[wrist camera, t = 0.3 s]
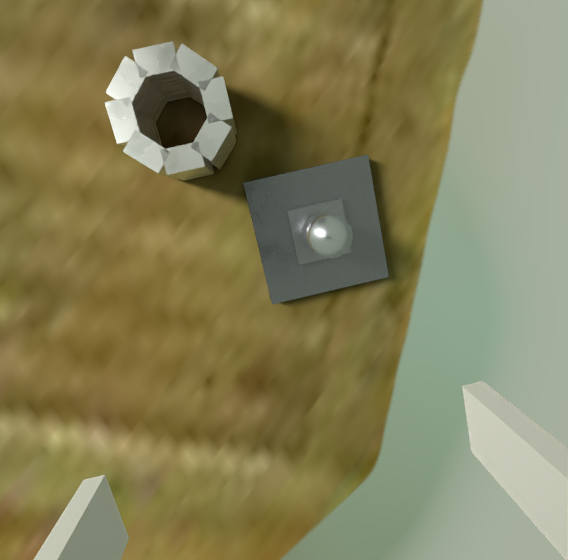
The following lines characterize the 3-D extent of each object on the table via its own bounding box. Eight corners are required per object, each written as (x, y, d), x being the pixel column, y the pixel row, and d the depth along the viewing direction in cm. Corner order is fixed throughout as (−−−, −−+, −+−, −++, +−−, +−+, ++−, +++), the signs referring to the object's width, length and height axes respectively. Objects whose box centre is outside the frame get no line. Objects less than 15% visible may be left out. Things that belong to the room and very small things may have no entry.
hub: (124, 88, 34) (91, 59, 28) (221, 67, 35) (212, 32, 28) (153, 187, 36) (128, 183, 29) (245, 167, 36) (242, 158, 30)
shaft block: (243, 183, 37) (240, 177, 29) (363, 156, 37) (392, 143, 29) (271, 300, 39) (275, 324, 31) (383, 274, 40) (415, 291, 32)
